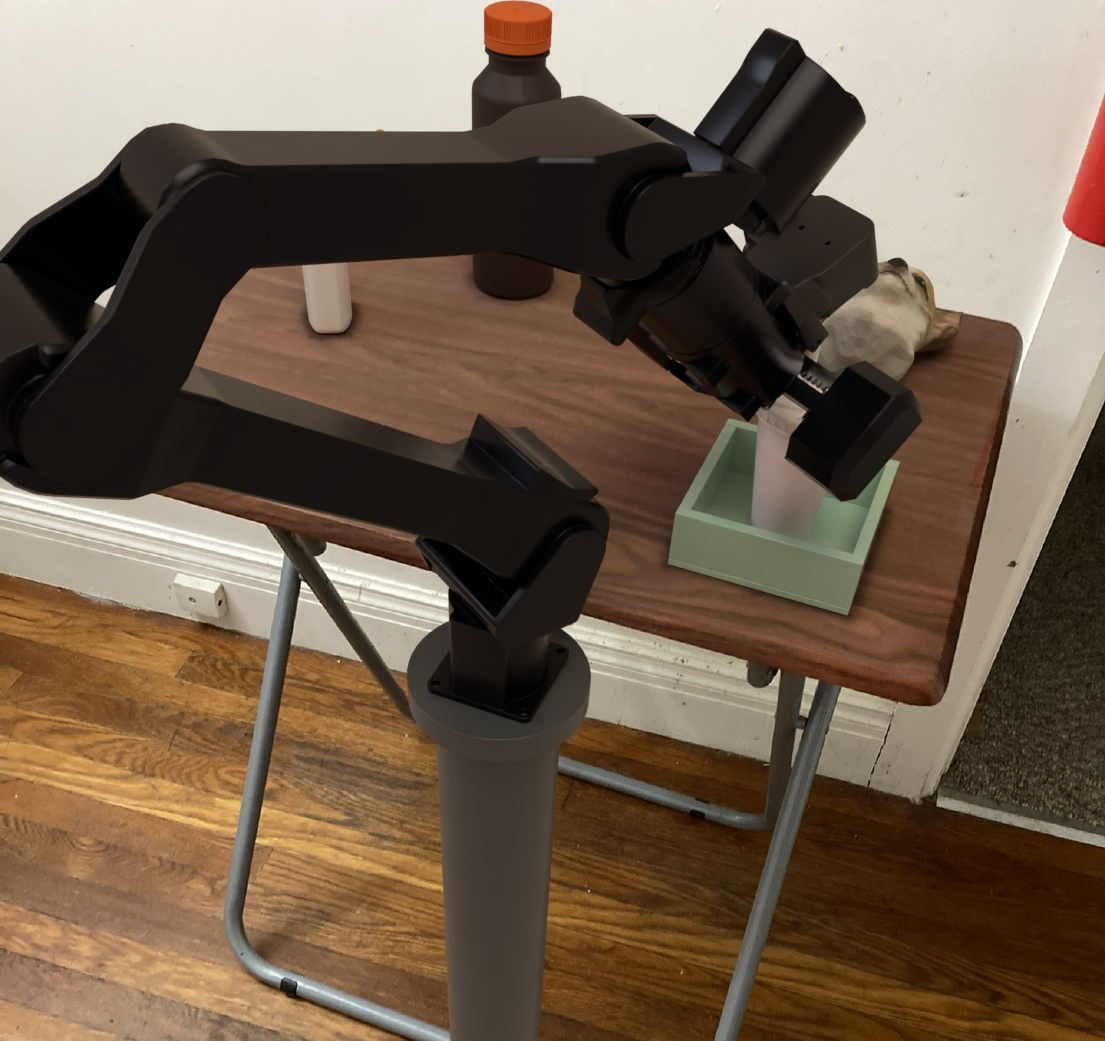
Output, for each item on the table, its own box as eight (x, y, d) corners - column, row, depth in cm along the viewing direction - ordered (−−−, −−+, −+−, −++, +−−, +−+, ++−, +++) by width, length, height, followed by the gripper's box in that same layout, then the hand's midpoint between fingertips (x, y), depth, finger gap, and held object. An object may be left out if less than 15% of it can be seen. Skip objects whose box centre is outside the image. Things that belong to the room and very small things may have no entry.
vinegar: (480, 257, 100) (479, -8, 86) (558, 266, 100) (571, 0, 85) (465, 295, 96) (462, 21, 81) (547, 304, 95) (558, 30, 81)
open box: (847, 616, 71) (863, 564, 68) (667, 564, 74) (675, 512, 71) (884, 511, 78) (900, 461, 75) (719, 468, 81) (728, 417, 78)
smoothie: (713, 510, 77) (751, 309, 66) (798, 494, 78) (848, 296, 68) (757, 570, 73) (805, 365, 62) (846, 552, 74) (907, 350, 64)
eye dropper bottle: (371, 308, 94) (359, 153, 85) (337, 340, 90) (321, 182, 81) (324, 297, 95) (307, 142, 86) (288, 328, 91) (267, 170, 82)
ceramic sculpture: (799, 270, 82) (862, 207, 92) (773, 383, 88) (835, 313, 98) (946, 312, 79) (995, 243, 89) (908, 426, 85) (958, 349, 95)
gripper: (954, 239, 51) (1032, 395, 64) (692, 99, 62) (803, 258, 74) (787, 442, 54) (893, 554, 67) (561, 276, 64) (690, 400, 77)
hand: (818, 431), depth 71 cm, fingers closed on smoothie, 6 cm apart
